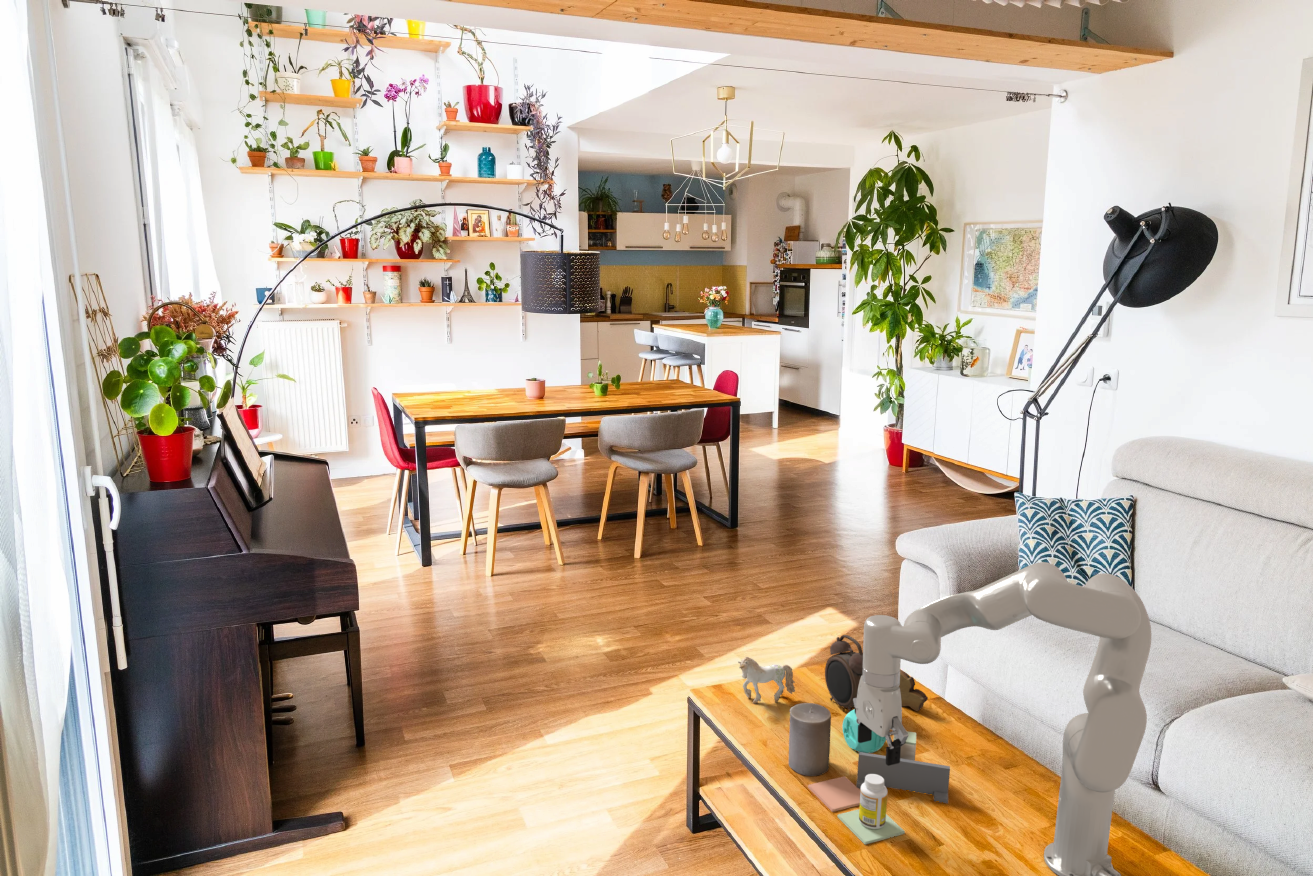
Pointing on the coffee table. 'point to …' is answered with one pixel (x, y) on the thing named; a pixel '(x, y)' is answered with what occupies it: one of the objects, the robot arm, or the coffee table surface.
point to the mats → (845, 796)
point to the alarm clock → (844, 672)
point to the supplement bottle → (873, 802)
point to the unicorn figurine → (765, 677)
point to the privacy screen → (906, 775)
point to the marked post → (908, 747)
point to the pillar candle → (809, 739)
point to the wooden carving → (911, 692)
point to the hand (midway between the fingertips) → (878, 752)
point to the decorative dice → (852, 736)
